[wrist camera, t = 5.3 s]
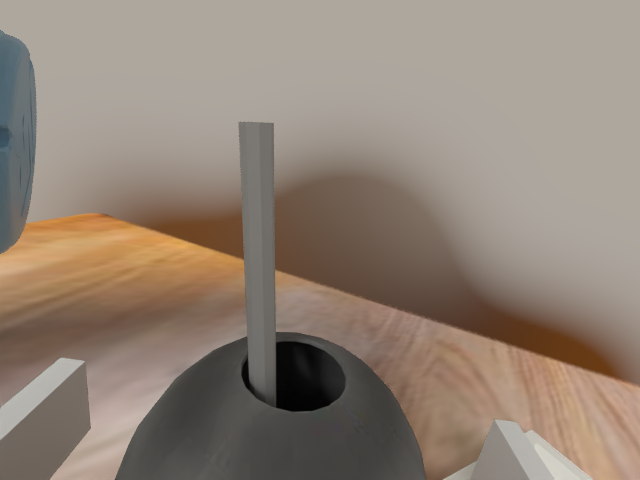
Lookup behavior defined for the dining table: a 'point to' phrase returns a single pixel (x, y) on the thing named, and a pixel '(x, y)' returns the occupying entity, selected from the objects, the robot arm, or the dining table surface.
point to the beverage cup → (272, 386)
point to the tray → (560, 467)
